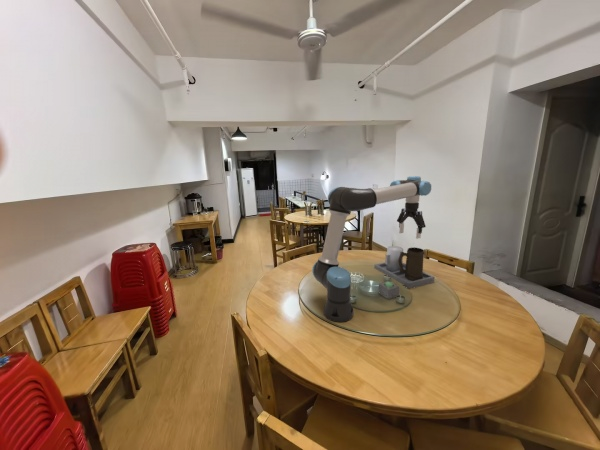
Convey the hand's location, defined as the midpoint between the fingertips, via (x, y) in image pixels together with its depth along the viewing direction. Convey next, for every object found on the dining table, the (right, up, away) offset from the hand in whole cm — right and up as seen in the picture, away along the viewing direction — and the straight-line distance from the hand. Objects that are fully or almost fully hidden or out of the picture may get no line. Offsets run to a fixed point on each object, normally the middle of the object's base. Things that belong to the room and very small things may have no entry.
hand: (409, 235), depth 147 cm
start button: (-17, -33, -10) cm, 38 cm away
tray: (+1, -28, +14) cm, 31 cm away
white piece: (-3, -26, +20) cm, 32 cm away
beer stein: (+4, -28, +7) cm, 30 cm away
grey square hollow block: (-17, -34, -10) cm, 39 cm away
